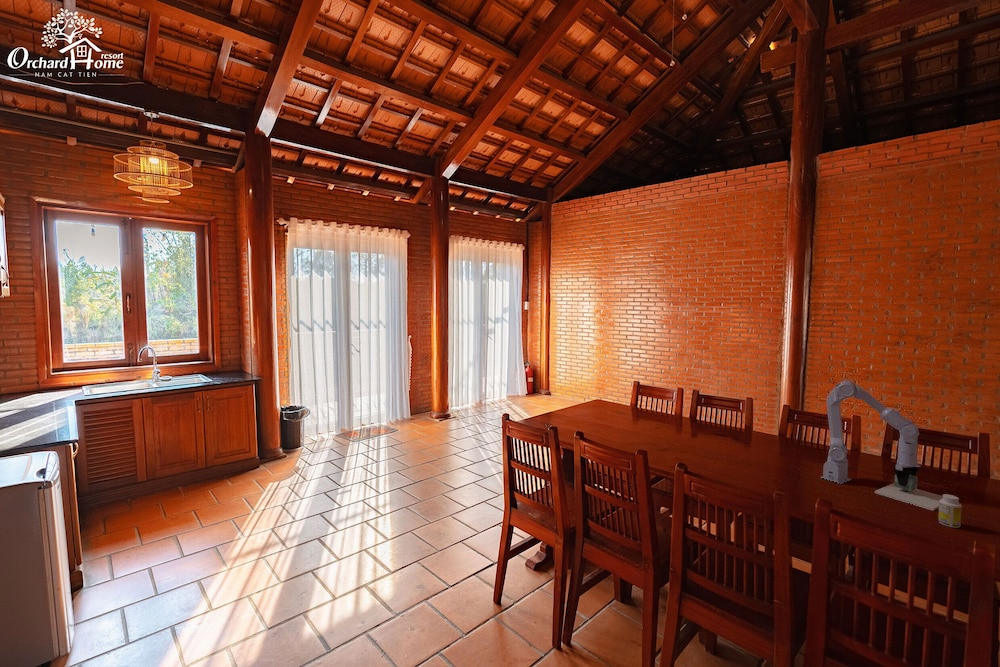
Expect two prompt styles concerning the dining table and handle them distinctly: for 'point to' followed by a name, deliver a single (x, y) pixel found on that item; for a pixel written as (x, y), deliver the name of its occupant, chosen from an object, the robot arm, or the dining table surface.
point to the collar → (908, 483)
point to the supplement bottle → (950, 511)
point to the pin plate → (912, 496)
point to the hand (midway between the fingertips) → (905, 484)
